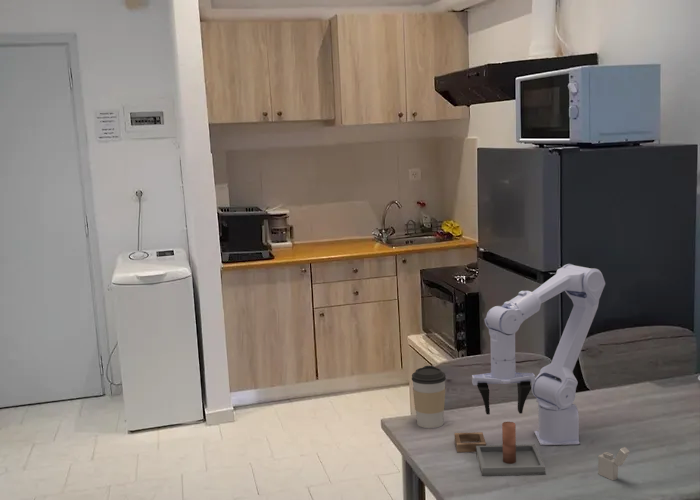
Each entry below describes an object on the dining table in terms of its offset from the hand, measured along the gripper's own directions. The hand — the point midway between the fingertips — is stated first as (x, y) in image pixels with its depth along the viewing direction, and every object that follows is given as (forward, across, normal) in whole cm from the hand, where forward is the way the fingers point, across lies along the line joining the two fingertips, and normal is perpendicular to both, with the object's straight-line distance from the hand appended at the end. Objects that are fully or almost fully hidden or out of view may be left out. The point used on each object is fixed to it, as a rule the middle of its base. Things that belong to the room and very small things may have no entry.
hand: (503, 412), depth 174 cm
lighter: (+10, +21, -14) cm, 28 cm away
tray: (+10, 0, -5) cm, 12 cm away
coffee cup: (+11, -16, +20) cm, 28 cm away
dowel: (+10, 0, -5) cm, 11 cm away
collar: (+10, -8, +5) cm, 14 cm away
